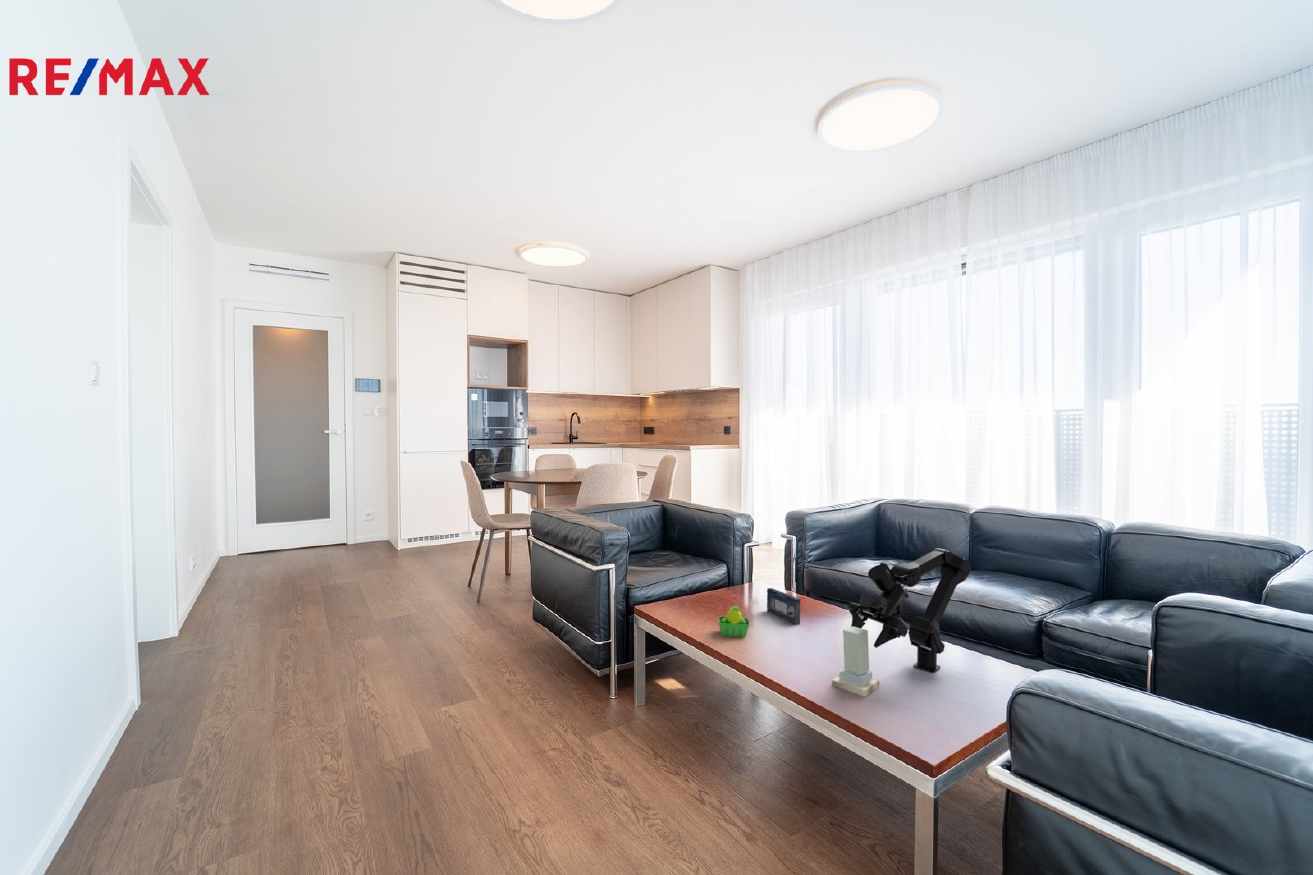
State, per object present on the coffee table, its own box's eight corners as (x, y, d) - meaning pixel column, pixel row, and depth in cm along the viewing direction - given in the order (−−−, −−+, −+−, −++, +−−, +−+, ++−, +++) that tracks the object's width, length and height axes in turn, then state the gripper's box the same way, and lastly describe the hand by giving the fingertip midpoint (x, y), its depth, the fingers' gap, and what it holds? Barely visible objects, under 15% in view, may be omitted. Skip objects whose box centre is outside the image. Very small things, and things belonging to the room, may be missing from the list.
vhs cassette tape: (766, 611, 235) (766, 588, 235) (772, 610, 236) (772, 587, 236) (794, 625, 218) (794, 600, 218) (800, 624, 220) (800, 599, 220)
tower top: (849, 672, 171) (849, 664, 171) (872, 679, 166) (872, 671, 166) (839, 679, 165) (839, 671, 165) (862, 687, 161) (862, 678, 161)
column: (854, 666, 169) (853, 626, 170) (869, 670, 165) (867, 630, 166) (844, 670, 166) (843, 629, 167) (859, 675, 162) (857, 634, 163)
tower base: (847, 678, 172) (847, 670, 172) (879, 688, 165) (879, 680, 165) (832, 688, 165) (832, 679, 165) (864, 699, 158) (864, 690, 158)
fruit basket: (748, 631, 211) (748, 601, 211) (749, 639, 202) (750, 608, 202) (717, 629, 212) (718, 600, 212) (718, 638, 203) (718, 607, 203)
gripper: (851, 576, 177) (825, 616, 172) (901, 591, 160) (874, 635, 155) (869, 598, 181) (843, 637, 176) (919, 615, 164) (893, 658, 159)
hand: (862, 641), depth 166 cm, fingers open, 9 cm apart
